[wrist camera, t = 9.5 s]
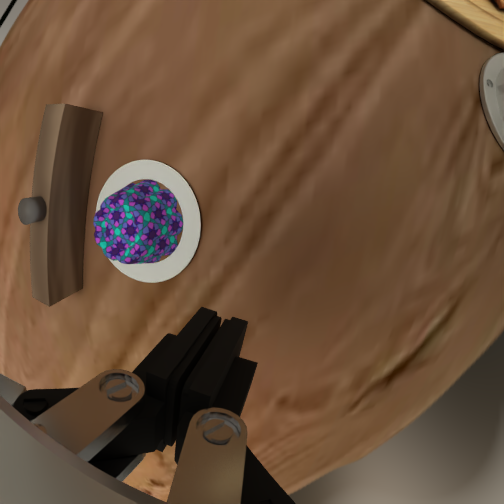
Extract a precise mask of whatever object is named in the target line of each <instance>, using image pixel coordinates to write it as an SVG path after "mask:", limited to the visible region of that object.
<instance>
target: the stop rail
mask: <svg viewBox="0 0 504 504" xmlns="http://www.w3.org/2000/svg"><path fill="white" fill-rule="evenodd" d="M102 114H103V113H102V112H98V111H94V110H90V109H86V108H82V107H78V106H73V105H69V104H48V105H46V107H45V111H44V116H43V120H42V125H41V130H40V136H39V141H38V147H37V154H36V161H35V168H34V177H33V187H32V197H30V198H24V199H22V200H21V201H20V203H19V206H18V215H19V218H20V221H21V222H22V223H23V224H25V225H27V224H30V267H31V285H32V297H33V298H35V299H37V300H38V301H40V302H42V303H44V304H45V305H47V306H49V307H50V306H52V305H53V304H55V303H57V302H59V301H61V300H62V299H64V298H66V297H68V296H70V295H71V294H73V293H75V292H77V291H79V290H81V289H82V288H83V251H84V234H85V221H86V210H87V201H88V193H89V185H90V178H91V171H92V165H93V159H94V153H95V147H96V142H97V137H98V132H99V128H100V123H101V119H102Z"/></svg>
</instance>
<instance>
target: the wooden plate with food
mask: <svg viewBox="0 0 504 504" xmlns="http://www.w3.org/2000/svg"><path fill="white" fill-rule="evenodd" d="M426 1H428V2H429V3H431V4H432V5H433V6H435V7H436V8H438V9H439V10H440V11H442V12H443V13H445V14H446V15H448V16H449V17H450V18H452V19H453V20H455V21H456V22H458V23H459V24H461V25H462V26H464V27H465V28H467V29H468V30H470V31H471V32H473V33H475V34H476V35H478V36H479V37H481V38H483V39H485V40H486V41H488V42H490V43H491V44H493V45H495V46H497V47H499V48H501V49H503V50H504V0H426Z"/></svg>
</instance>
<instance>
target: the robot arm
mask: <svg viewBox="0 0 504 504" xmlns="http://www.w3.org/2000/svg"><path fill="white" fill-rule="evenodd" d="M479 85H480V96H481V101H482V106H483V109H484V113H485V116H486V119H487V121H488V123H489V126H490V128H491V131H492V132H493V134H494V136H495V138H496V140H497V141H498V143H499V144H500V146H501V147H502V148H503V150H504V53H498V54H495V55H494V56H492V57H490V58H489V59H488V60H487V61H486V62H485V64H484V65H483V67H482V70H481V74H480V84H479ZM220 324H221V317H218V316H217V312H216V311H213V310H210V309H207V308H204V307H201V308H200V309H199V310H198V312H197V313H196V314H195V315H194V316H193V317H192V319H191V320H190V321H189V322H188V323H187V324H186V326H185V327H184V328H183V329H182V330H181V331H180V333H179V334H178V335H177V336H176V335H173V334H170V333H169V334H167V335H166V336H165V337H164V338H163V339H162V340H161V341H160V342H159V343H158V344H157V345H156V347H155V348H154V349H153V350H152V351H151V352H150V353H149V354H148V355H147V356H146V358H145V359H144V360H143V361H142V362H141V363H140V364H139V365H138V366H137V367H136V368H135V370H134V371H133V372H132V373H131V372H129V371H126V370H122V369H112V370H107V371H104V372H102V373H100V374H99V375H97V376H96V377H95V378H93V379H92V380H90V381H89V382H87V383H86V384H84V385H83V386H82V387H80V388H66V389H34V390H28V391H27V390H26V387H25V386H23V385H21V384H19V383H17V382H15V381H13V380H11V379H9V378H8V377H6V376H4V375H2V374H0V504H295V502H294V501H293V500H292V499H291V498H290V497H289V496H288V495H287V493H286V492H285V491H284V490H283V489H282V488H281V487H280V486H279V484H278V483H277V482H276V481H275V480H274V479H273V477H272V476H271V475H270V474H269V473H268V471H267V470H266V469H265V468H264V467H263V465H262V464H261V463H260V462H259V460H258V459H257V458H256V457H255V456H254V454H253V453H252V452H251V450H250V449H249V448H248V447H247V445H246V443H247V427H246V425H245V423H244V421H243V420H242V419H241V418H240V415H241V412H242V410H243V407H244V404H245V401H246V398H247V395H248V392H249V389H250V386H251V383H252V380H253V376H254V373H255V370H256V367H257V362H253V361H250V360H247V359H243V358H240V357H239V355H240V351H241V348H242V344H243V340H244V336H245V332H246V328H247V324H248V321H245V320H242V319H238V318H235V317H232V318H231V320H228V319H225V320H224V322H223V323H222V325H221V327H220ZM175 441H176V448H175V462H176V463H177V468H176V472H175V475H174V479H173V482H172V485H171V489H170V492H169V496H168V499H167V502H164V501H162V500H159V499H157V498H155V497H153V496H150V495H148V494H146V493H144V492H141V491H139V490H137V489H135V488H133V487H131V486H129V485H127V484H125V483H123V482H122V481H123V480H124V479H125V478H126V477H127V476H128V475H129V474H130V473H131V472H132V471H133V470H134V469H135V468H136V467H137V465H138V464H139V463H140V462H141V461H142V460H143V459H144V457H145V455H146V453H149V452H154V451H155V450H156V449H157V450H159V451H161V452H163V450H164V449H165V447H166V445H169V446H173V444H174V443H175Z"/></svg>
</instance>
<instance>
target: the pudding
mask: <svg viewBox="0 0 504 504" xmlns="http://www.w3.org/2000/svg"><path fill="white" fill-rule="evenodd" d="M140 179H152V180H155V181H158V182H160V183H162V184H164V185H165V186H166V187H167V188H169V189H170V190H171V192H172V193H171V192H170V191H169V190H163V189H160V187H159V185H158V184H157V182H155V181H152V180H144V181H142V182H140V183H138V184H133V183H132V184H130V185H128V184H129V183H131V182H133V181H136V180H140ZM126 185H127V186H126ZM125 186H126V187H125ZM174 195H175V196H174ZM175 197H176V198H177V200H178V202H179V204H180V207H181V210H182V214H183V219H182V215H181V214H180V213H179V212H178V211H177V210H176V206H177V200H176V198H175ZM183 223H184V224H183ZM93 224H94V226H95V229H96V230H95V233H94V236H95V241H96V243H97V245H99V246H100V247H102V250H103V253H104V255H105V256H106V257H107V258H109V260H110V261H111V262H112V263H113V265H114V266H115V267H116V268H118V269H119V270H120V271H121V272H122V273H124V274H125V275H127V276H129V277H131V278H133V279H135V280H138V281H142V282H153V283H155V282H161V281H165V280H168V279H170V278H172V277H174V276H175V275H177V274H179V273H180V272H181V271H182V270H183V269H184V268H185V267H186V266H187V265H188V263H189V262H190V260H191V259H192V258H193V256H194V253H195V251H196V249H197V246H198V242H199V238H200V229H201V221H200V212H199V208H198V204H197V200H196V198H195V196H194V193H193V191H192V189H191V188H190V186H189V185H188V183H187V182H186V180H185V179H184V178H183V177H182V176H181V175H180V174H179V173H178V172H177V171H175V170H174V169H173V168H171V167H170V166H168V165H165V164H163V163H161V162H157V161H153V160H138V161H133V162H130V163H128V164H126V165H124V166H122V167H121V168H119V169H118V170H116V171H115V172H114V173H113V174H112V175H111V176H110V177H109V179H108V180H107V181H106V183H105V184H104V186H103V188H102V190H101V192H100V195H99V199H98V202H97V208H96V214H95V216H94V223H93ZM182 228H183V233H182V238H181V240H180V243H179V245H178V244H177V237H176V236H177V235H178V234H179V233H180V232H181V231H182ZM177 245H178V247H177ZM176 247H177V248H176ZM175 249H176V250H175ZM172 252H173V253H172ZM171 253H172V254H171ZM170 254H171V255H170ZM162 255H170V256H169V257H168V258H166V259H165V260H163V261H160V262H157V261H159V259H160V258H161V256H162ZM154 262H157V263H154Z"/></svg>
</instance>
